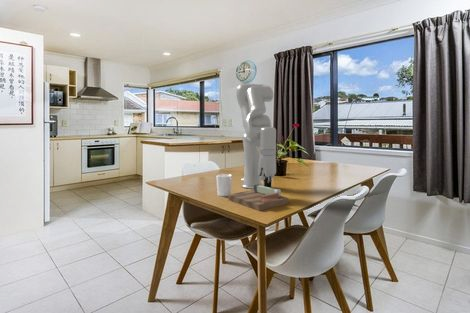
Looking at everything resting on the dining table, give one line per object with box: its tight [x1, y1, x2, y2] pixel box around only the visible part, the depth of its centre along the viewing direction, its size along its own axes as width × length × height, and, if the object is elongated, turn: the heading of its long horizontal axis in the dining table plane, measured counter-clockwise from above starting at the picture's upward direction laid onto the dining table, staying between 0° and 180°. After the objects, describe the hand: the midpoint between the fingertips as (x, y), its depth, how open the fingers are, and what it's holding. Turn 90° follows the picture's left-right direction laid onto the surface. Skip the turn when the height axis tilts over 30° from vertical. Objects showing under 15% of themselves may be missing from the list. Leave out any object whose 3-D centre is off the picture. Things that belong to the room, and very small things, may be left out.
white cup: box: [215, 173, 233, 197], centre depth 145 cm, size 8×8×10 cm
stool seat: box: [227, 189, 290, 211], centre depth 132 cm, size 22×18×6 cm
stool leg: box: [253, 184, 282, 197], centre depth 136 cm, size 16×3×3 cm, turn 38°
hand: (267, 190), depth 140 cm, fingers closed
